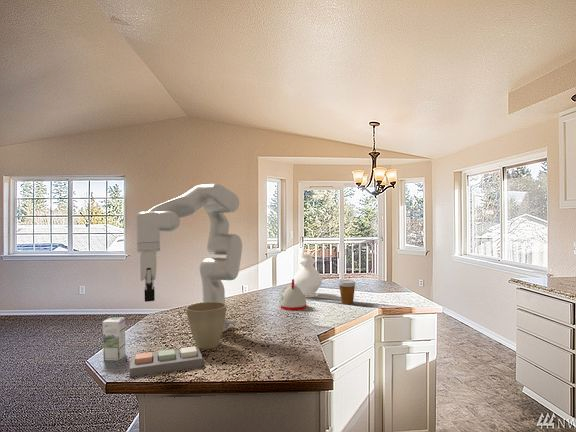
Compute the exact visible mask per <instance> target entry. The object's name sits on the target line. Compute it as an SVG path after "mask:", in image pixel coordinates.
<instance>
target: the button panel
mask: <svg viewBox="0 0 576 432" xmlns="http://www.w3.org/2000/svg"><path fill="white" fill-rule="evenodd" d="M195 347H196V350H197V356H192V357H185V358H181V356H180V348H178V349H174V352H175V359H170V360H163V361H159V351H157V352H152V362H148V363H141V364H135V358H136V354H134V355H131V359H130V363H129V364H130V365H129V377H130V378H131V377H132V376H133V377H138V376H139V375H140V376H146V375H151V374H152V375H153V374H159V373H160V372H161V373H165V372H174V371H181V370H188V369H192V368H201V367H203V366H204V363H203V361H204V359H203V356H202V352H201V349H199V347H197V346H195ZM140 376H139V377H140ZM133 377H132V378H133Z"/></svg>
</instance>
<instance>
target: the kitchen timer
mask: <svg viewBox="0 0 576 432" xmlns="http://www.w3.org/2000/svg"><path fill="white" fill-rule="evenodd" d="M306 299H307V297H305V294H303V293H302V291H301V290H300V289H299V288H298V287H297V286H295V285H294V278H293V279H291V285H290V286H288V287H287V288H286V289H285V290H284V292H283V293H282V294H281V297H280V309H281V310H285V311H301V310H304V309H307V300H306Z"/></svg>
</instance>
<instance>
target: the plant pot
mask: <svg viewBox="0 0 576 432" xmlns="http://www.w3.org/2000/svg"><path fill="white" fill-rule="evenodd" d="M185 309H186V315H187V321H188V325H189V328H190V332H191V335H192V338H193V340H194V343H195V345H196V346H195V347H199V349H200V350H211V349H215V348H217V347H219V345H220V341H221V338H222V335H223V332H222V331H223V327H224V321H225V318H226V314H227V313H226V312H227V304H226V302H225V303H222V302H203V301H202V302H198V303H194V304H193V303H192V304H190V305H187V306H186V308H185Z"/></svg>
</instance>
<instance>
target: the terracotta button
mask: <svg viewBox="0 0 576 432" xmlns="http://www.w3.org/2000/svg"><path fill="white" fill-rule="evenodd" d="M152 353H153V351H149V352H148V351H147V352H140V353H135V355H136V358H135V364H141V363H148V362H152Z"/></svg>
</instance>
